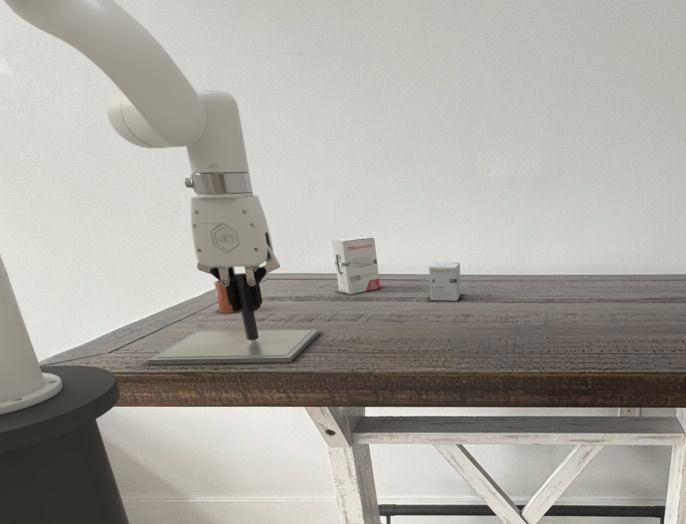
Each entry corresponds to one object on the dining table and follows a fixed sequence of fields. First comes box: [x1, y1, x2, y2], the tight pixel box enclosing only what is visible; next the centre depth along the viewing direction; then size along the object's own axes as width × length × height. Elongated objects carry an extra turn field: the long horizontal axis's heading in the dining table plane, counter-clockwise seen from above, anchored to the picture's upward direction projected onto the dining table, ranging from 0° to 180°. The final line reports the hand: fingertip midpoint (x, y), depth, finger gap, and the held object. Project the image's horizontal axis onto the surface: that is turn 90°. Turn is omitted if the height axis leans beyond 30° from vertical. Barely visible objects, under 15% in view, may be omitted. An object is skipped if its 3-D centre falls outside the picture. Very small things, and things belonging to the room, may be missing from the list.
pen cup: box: [213, 279, 241, 314], centre depth 112 cm, size 4×4×6 cm
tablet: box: [147, 328, 320, 365], centre depth 90 cm, size 15×21×1 cm
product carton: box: [428, 261, 461, 302], centre depth 121 cm, size 6×6×7 cm
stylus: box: [234, 272, 259, 343], centre depth 88 cm, size 2×2×11 cm
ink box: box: [331, 236, 381, 295], centre depth 128 cm, size 9×5×12 cm, turn 139°
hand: (247, 308), depth 88 cm, fingers closed on stylus, 2 cm apart
